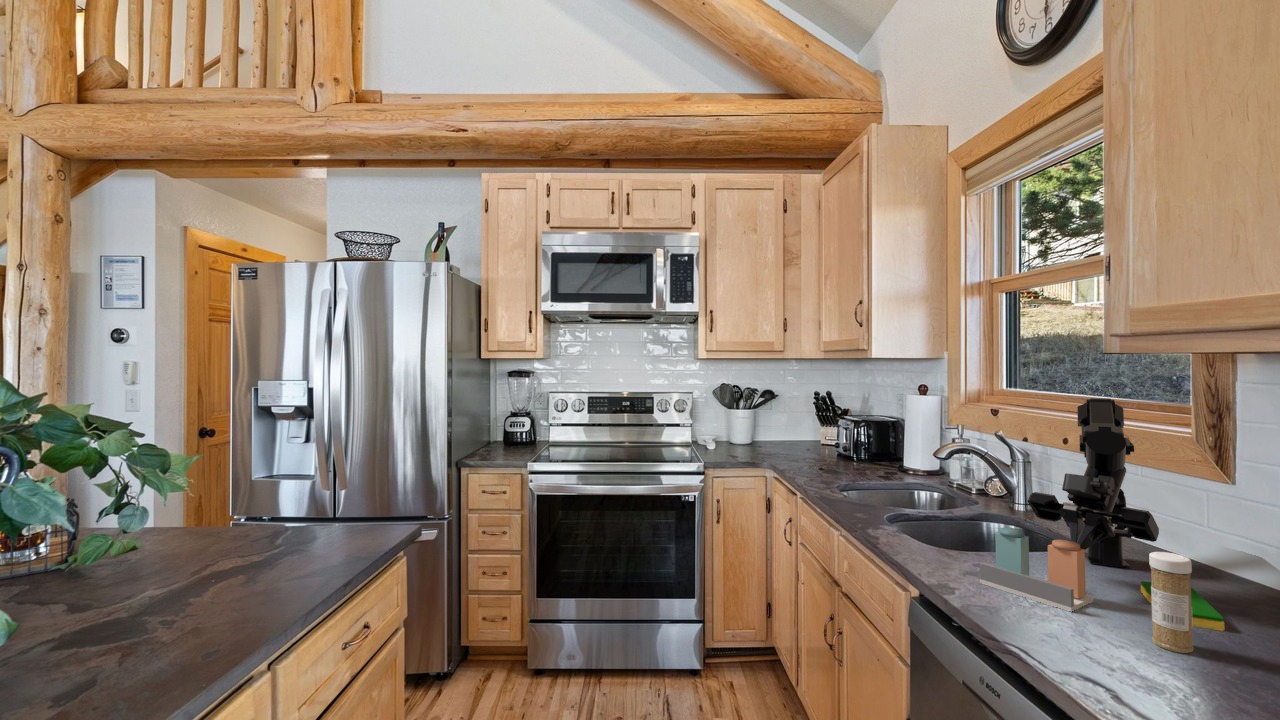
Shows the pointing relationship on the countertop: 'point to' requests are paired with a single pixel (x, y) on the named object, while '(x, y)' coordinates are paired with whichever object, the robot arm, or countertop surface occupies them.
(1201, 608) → the dish sponge
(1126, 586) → the countertop surface
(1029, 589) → the button console
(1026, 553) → the button teal
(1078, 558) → the orange domed block
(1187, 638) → the sprinkles bottle
